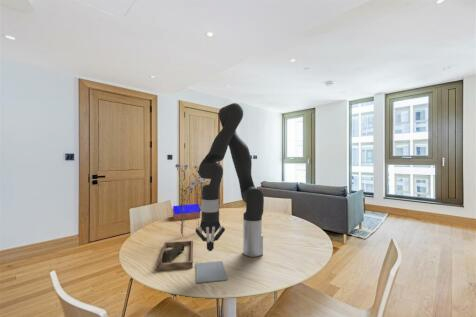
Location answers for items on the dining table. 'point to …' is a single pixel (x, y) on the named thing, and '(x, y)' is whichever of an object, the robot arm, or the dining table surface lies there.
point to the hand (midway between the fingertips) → (210, 250)
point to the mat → (210, 272)
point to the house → (186, 211)
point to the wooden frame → (175, 264)
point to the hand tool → (172, 252)
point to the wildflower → (190, 192)
